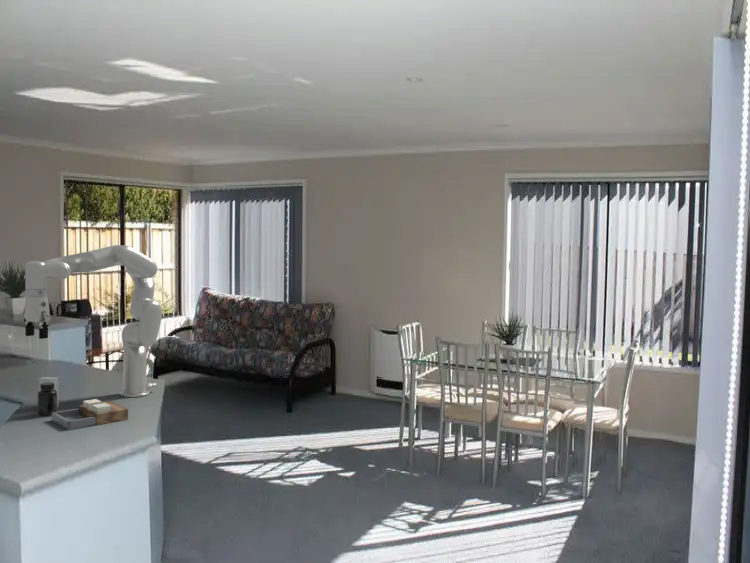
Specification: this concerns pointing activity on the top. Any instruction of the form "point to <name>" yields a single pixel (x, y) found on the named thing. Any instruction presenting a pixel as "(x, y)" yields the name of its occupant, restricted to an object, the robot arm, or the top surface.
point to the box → (72, 419)
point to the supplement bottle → (46, 399)
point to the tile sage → (101, 408)
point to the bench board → (106, 413)
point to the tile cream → (91, 403)
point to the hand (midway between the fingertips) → (36, 337)
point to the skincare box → (50, 379)
